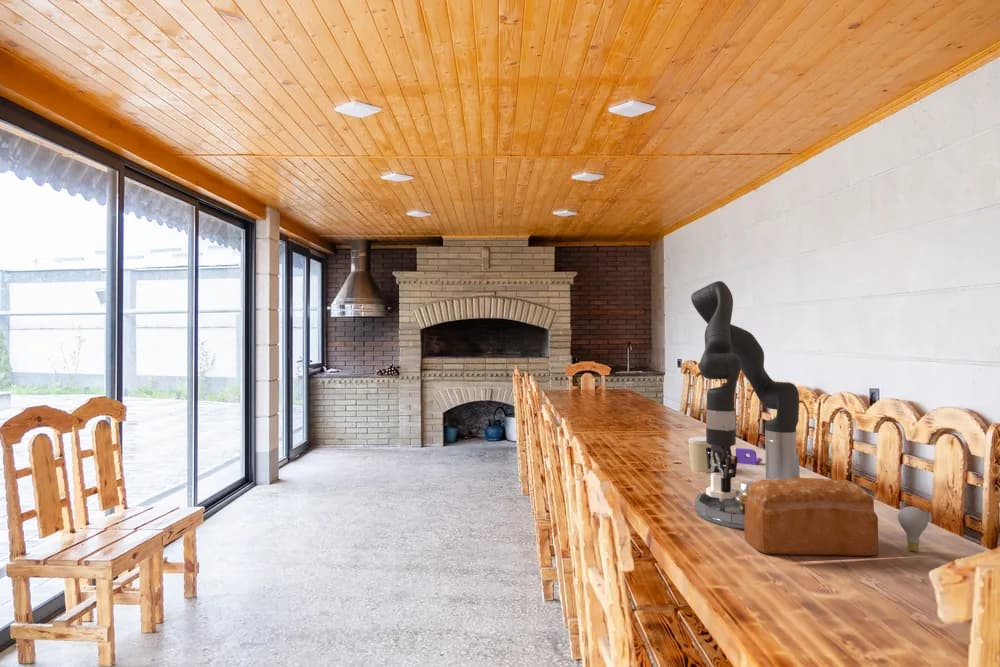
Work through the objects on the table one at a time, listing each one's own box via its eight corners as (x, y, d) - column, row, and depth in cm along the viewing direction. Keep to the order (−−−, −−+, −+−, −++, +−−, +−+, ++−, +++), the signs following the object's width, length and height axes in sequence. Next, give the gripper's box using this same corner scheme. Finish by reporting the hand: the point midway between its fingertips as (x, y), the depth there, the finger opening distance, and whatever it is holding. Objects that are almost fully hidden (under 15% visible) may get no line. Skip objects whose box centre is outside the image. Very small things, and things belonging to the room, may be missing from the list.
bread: (739, 535, 140) (739, 471, 141) (850, 537, 139) (849, 472, 139) (761, 557, 127) (761, 486, 127) (885, 559, 125) (884, 487, 125)
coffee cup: (719, 474, 203) (719, 441, 203) (693, 475, 203) (692, 441, 203) (710, 469, 212) (710, 436, 212) (685, 469, 212) (684, 436, 212)
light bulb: (929, 557, 125) (928, 511, 125) (899, 552, 128) (898, 508, 128) (927, 549, 130) (926, 505, 130) (897, 545, 133) (897, 502, 133)
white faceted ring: (702, 491, 159) (702, 471, 159) (727, 491, 159) (727, 471, 159) (714, 498, 152) (714, 478, 152) (740, 498, 152) (740, 477, 152)
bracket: (755, 468, 213) (755, 450, 213) (735, 466, 217) (735, 448, 217) (761, 463, 223) (761, 445, 223) (742, 461, 227) (742, 443, 227)
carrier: (768, 500, 171) (768, 476, 171) (828, 530, 144) (827, 502, 144) (680, 503, 168) (680, 479, 168) (724, 534, 141) (724, 505, 141)
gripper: (696, 423, 162) (696, 483, 162) (719, 431, 148) (720, 497, 148) (721, 422, 163) (722, 482, 163) (747, 430, 149) (748, 496, 149)
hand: (721, 489), depth 155 cm, fingers closed on white faceted ring, 5 cm apart
